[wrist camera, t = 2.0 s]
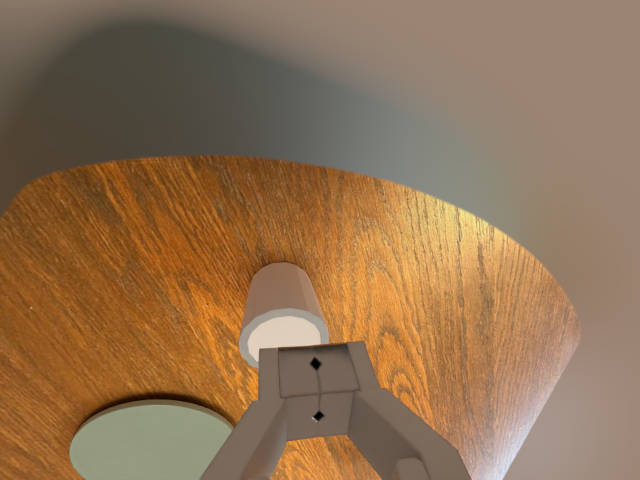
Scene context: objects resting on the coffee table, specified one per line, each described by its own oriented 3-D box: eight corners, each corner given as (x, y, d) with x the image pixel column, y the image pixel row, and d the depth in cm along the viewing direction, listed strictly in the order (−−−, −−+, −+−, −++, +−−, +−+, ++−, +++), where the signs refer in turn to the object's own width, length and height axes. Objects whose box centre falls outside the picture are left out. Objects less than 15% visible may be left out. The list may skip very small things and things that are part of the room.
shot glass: (226, 284, 31) (218, 343, 25) (287, 242, 30) (293, 293, 24) (274, 326, 35) (277, 387, 29) (331, 290, 33) (346, 345, 27)
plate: (52, 401, 35) (44, 414, 34) (234, 385, 38) (233, 397, 37) (98, 492, 44) (93, 505, 43) (244, 474, 47) (243, 486, 46)
